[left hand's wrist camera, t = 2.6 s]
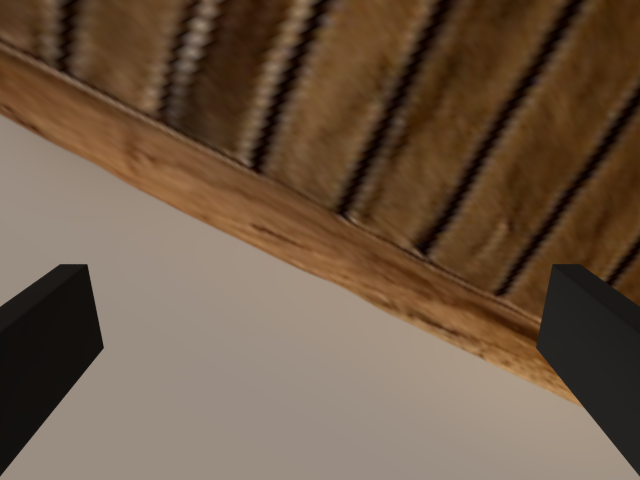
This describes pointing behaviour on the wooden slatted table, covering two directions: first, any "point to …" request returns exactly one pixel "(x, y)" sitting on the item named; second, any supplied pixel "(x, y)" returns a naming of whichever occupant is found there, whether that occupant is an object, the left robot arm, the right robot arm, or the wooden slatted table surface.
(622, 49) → the wooden slatted table surface
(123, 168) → the wooden slatted table surface
